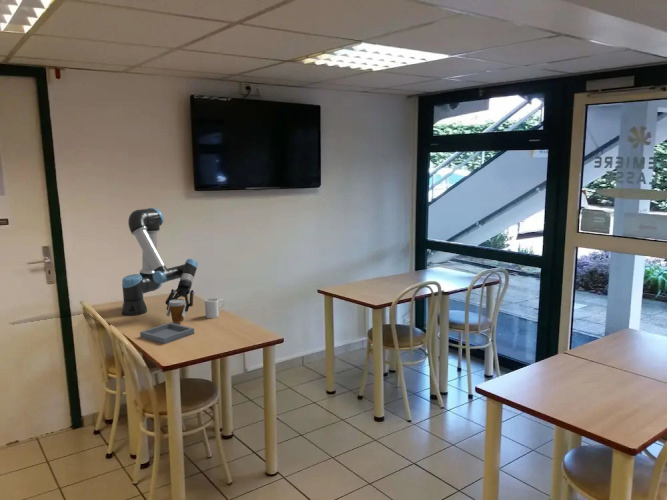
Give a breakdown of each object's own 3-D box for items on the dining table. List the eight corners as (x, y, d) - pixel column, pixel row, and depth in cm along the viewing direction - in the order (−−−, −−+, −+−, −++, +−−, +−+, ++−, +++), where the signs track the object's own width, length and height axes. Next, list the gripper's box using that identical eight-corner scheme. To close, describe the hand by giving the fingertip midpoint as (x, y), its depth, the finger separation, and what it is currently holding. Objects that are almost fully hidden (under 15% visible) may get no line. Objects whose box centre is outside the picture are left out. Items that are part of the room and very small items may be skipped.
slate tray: (140, 337, 287) (140, 332, 286) (170, 327, 303) (170, 322, 302) (164, 344, 276) (164, 338, 275) (194, 333, 292) (194, 328, 291)
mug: (208, 319, 318) (207, 302, 317) (203, 316, 325) (202, 299, 323) (227, 315, 325) (226, 299, 324) (222, 312, 332) (221, 296, 330)
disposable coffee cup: (188, 318, 315) (187, 299, 313) (182, 323, 306) (181, 303, 304) (173, 318, 316) (172, 298, 314) (166, 323, 307) (165, 303, 305)
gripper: (204, 286, 321) (194, 319, 309) (171, 285, 324) (160, 317, 312) (200, 280, 315) (190, 313, 302) (166, 278, 318) (155, 311, 306)
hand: (175, 315), depth 307 cm, fingers closed on disposable coffee cup, 9 cm apart
